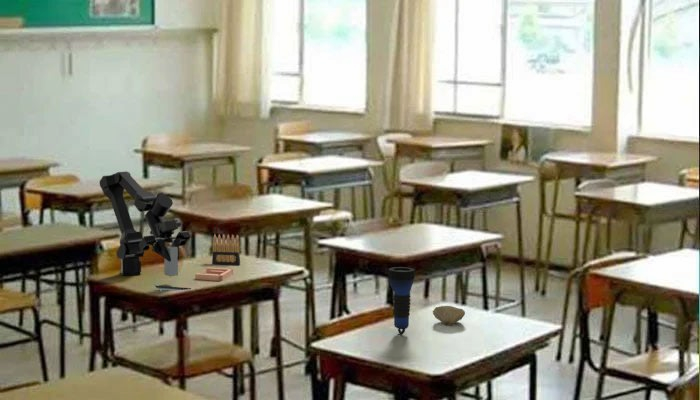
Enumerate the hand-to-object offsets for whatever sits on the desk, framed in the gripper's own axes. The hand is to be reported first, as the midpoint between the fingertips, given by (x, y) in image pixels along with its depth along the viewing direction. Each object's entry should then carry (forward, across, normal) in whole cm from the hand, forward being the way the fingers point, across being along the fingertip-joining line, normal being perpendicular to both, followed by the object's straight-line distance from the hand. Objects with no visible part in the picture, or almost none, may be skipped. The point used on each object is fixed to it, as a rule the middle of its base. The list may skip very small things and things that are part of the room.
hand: (174, 260), depth 407 cm
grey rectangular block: (+2, 0, +6) cm, 6 cm away
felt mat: (+6, 0, +8) cm, 10 cm away
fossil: (+74, +40, -60) cm, 103 cm away
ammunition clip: (-9, +38, +23) cm, 45 cm away
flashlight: (+73, +21, -60) cm, 96 cm away
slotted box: (+5, +19, +9) cm, 21 cm away
